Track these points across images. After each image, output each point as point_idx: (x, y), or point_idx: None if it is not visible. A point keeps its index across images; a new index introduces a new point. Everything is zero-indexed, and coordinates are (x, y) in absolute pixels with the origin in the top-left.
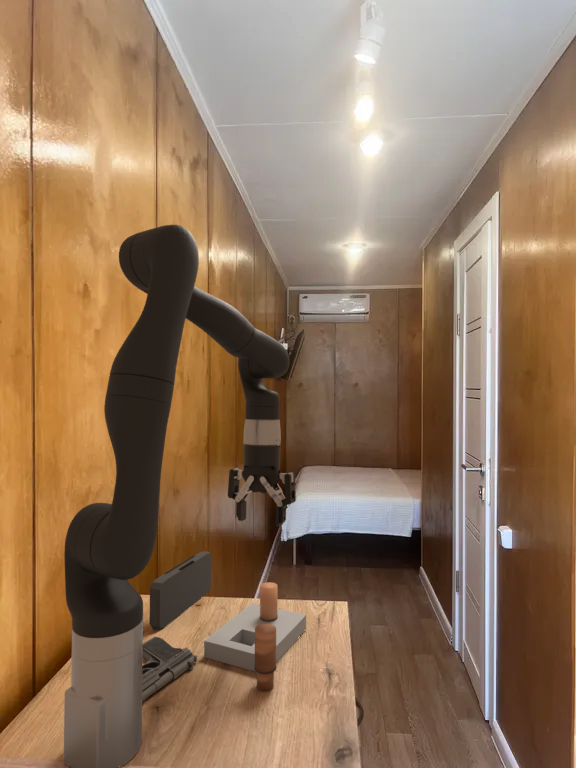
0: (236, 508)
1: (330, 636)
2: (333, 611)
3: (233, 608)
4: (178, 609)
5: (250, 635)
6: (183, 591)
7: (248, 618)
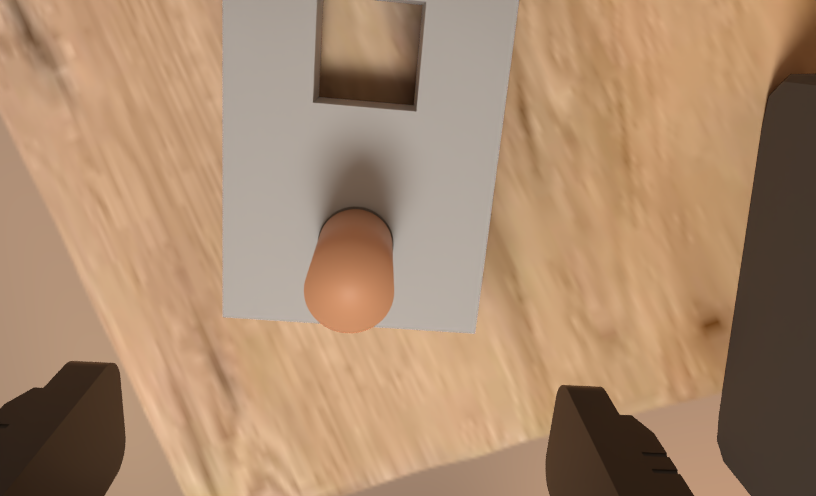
0: (682, 483)
1: (133, 279)
2: (197, 452)
3: (565, 347)
4: (764, 221)
5: (376, 106)
6: (794, 279)
7: (431, 205)
